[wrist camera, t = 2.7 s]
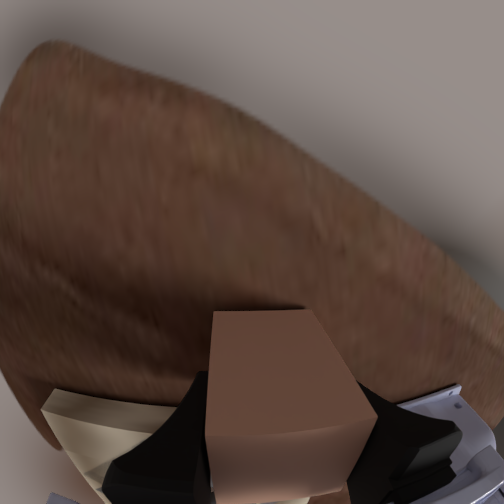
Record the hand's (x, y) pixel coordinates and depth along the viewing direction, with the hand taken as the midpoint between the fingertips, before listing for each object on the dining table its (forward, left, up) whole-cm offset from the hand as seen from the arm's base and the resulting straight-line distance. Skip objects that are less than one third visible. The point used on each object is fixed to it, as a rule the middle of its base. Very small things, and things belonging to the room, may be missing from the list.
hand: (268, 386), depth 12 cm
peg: (0, 0, -3) cm, 3 cm away
